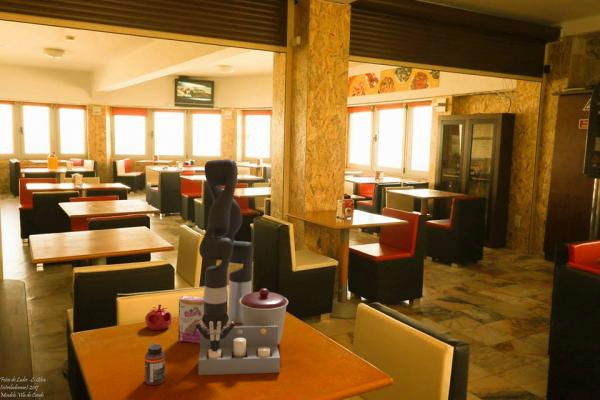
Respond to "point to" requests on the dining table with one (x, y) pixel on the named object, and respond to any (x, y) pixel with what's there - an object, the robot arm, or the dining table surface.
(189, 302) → the candy bar box
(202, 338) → the console
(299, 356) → the dining table surface
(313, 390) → the dining table surface
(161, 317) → the pomegranate
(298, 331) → the dining table surface
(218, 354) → the button
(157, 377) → the supplement bottle
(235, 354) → the middle button
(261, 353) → the button
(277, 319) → the canister
